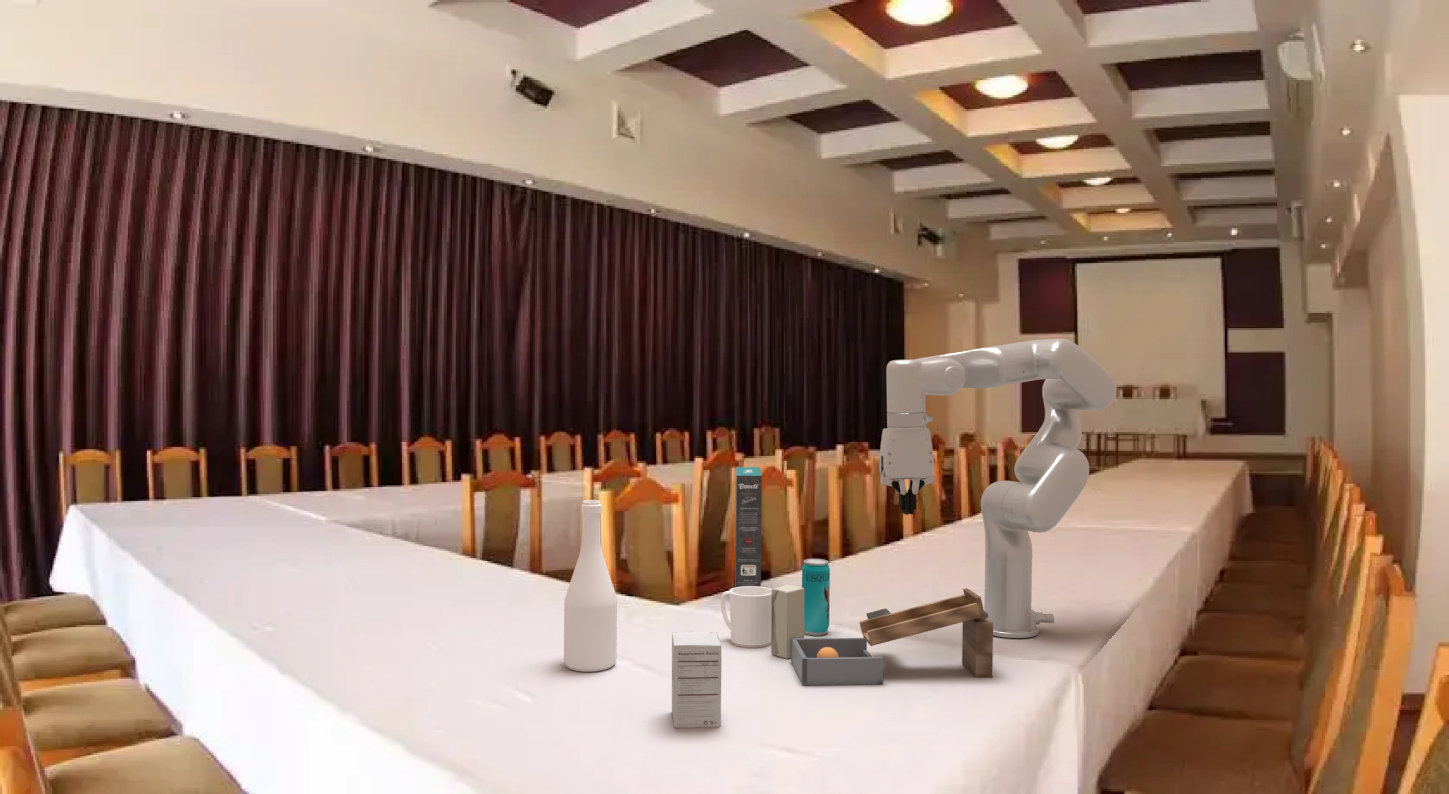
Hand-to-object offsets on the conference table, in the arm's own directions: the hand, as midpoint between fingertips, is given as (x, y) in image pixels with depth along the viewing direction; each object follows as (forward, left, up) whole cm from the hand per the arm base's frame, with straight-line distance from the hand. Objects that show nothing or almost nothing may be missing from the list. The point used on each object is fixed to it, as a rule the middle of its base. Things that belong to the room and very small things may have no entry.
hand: (907, 513), depth 184 cm
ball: (+19, +18, -24) cm, 35 cm away
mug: (+32, -3, -26) cm, 41 cm away
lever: (+2, +14, -18) cm, 23 cm away
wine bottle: (+62, +11, -26) cm, 68 cm away
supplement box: (+44, +39, -26) cm, 65 cm away
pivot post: (-8, +18, -26) cm, 33 cm away
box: (+25, +6, -26) cm, 37 cm away
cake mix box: (+27, -47, -26) cm, 60 cm away
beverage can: (+17, -9, -26) cm, 32 cm away
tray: (+18, +18, -26) cm, 36 cm away
